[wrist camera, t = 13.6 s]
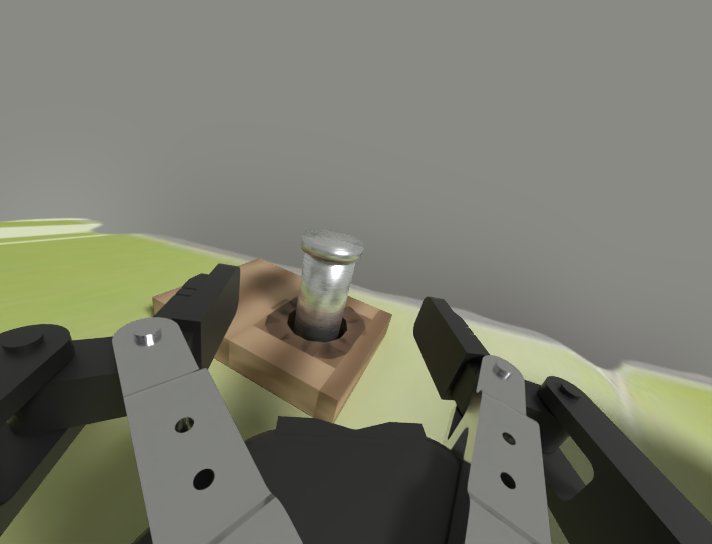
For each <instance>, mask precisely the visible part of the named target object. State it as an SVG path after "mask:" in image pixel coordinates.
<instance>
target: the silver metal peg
mask: <svg viewBox="0 0 712 544" xmlns="http://www.w3.org/2000/svg"><path fill="white" fill-rule="evenodd" d="M301 248H302V250H303V251H304V252H305V255H304V261H303V268H302V275H301V281H300V288H299V295H298V302H297V309H296V316H295V323H294V329H293V333H294V334H295V335H297V336H299V337H301V338H303V339H305V340H307V341H313V342H323V343H327V342H330V341H334V340H337V338H338V334H339V330H340V325H341V321H342V317H343V313H344V308H345V304H346V300H347V296H348V292H349V287H350V283H351V279H352V275H353V270H354V266H355V262H357V261H359V260H360V259H361V256H362V252H363V248H364V245H363V243H362V242H361V241H360V240H358V239H356V238H355V237H353V236H350V235H348V234H345V233H341V232H337V231H332V230H323V229H313V230H308V231H305V232H304V233H303V235H302V243H301Z"/></svg>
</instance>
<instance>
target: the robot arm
mask: <svg viewBox="0 0 712 544" xmlns="http://www.w3.org/2000/svg"><path fill="white" fill-rule="evenodd" d="M239 289H240V267H239V266H232V265H226V264H218V265H217V266H216V267H215V268H214V269H213V271H212V272H211V273H210V274H209V275H208V274H202V273H201V274H199V275H197V276H195V277H193V278H191V279H189V280H188V281H187V282H186V283H185V284H184V285H183V286H182V288H181V289H179V290H178V291H177V292H176V293H175V295H173V296H172V298H171V299H170V300H169V301H168V302H167V303H166V304H165V305H164V306H163V307H162V308H161V309H160V310H159V311H158V312H157V313H156V314H155V315H154V316H153V317H152V318H145V319H140V320H136V321H133V322H131V323H129V324H126V325H125V326H123V327H121V328H120V329H119V330H118V331H117V332H116V333H115V334H114V336H113V337H105V338H94V339H83V340H72V339H71V336H70V332H69V331H68V330H67V329H66V328H64V327H62V326H59V325H52V324H39V325H30V326H25V327H20V328H16V329H12V330H9V331H6V332H3V333H1V334H0V536H1V535H2V534H3V532H4V531H5V530H6V528H7V527H8V526H9V524H10V523H11V522H12V521H13V519H14V518H15V517H16V515H17V514H18V513H19V511H20V510H21V509H22V507H23V506H24V505H25V503H26V502H27V501H28V499H29V498H30V497H31V496H32V494H33V493H34V492H35V490H36V489H37V488H38V486H39V485H40V484H41V482H42V481H43V480H44V478H45V477H46V476H47V474H48V473H49V472H50V471H51V469H52V468H53V467H54V465H55V464H56V463H57V461H58V460H59V459H60V457H61V456H62V455H63V453H64V452H65V451H66V449H67V448H68V447H69V446H70V444H71V443H72V442H73V440H74V439H75V438H76V436H77V435H78V434H79V432H80V431H81V430H82V428H83V427H84V426H85V425H86V424H91V423H96V422H100V421H105V420H110V419H115V418H120V417H124V416H127V418H128V423H129V428H130V433H131V437H132V442H133V447H134V452H135V457H136V462H137V467H138V472H139V477H140V482H141V487H142V492H143V497H144V502H145V507H146V511H147V516H148V521H149V527H148V528H147V529H146V530H145V531H144V532H143V533H142V534H141V535H140V536H139V537H138V538H137V539H136V540H135V541H134V542H133V543H132V544H551V536H550V526H549V516H548V507H549V509H550V510H551V512H552V514H553V516H554V517H555V519H556V521H557V523H558V525H559V526H560V528H561V530H562V532H563V533H564V535H565V537H566V539H567V540H568V542H569V544H712V524H711V523H710V522H709V521H708V520H707V519H706V518H705V517H704V516H703V515H702V514H701V513H700V512H699V511H698V510H697V509H696V508H695V507H694V506H693V505H692V504H691V503H690V502H689V501H688V500H687V499H686V498H685V497H684V495H683V494H682V493H681V492H680V491H679V490H678V489H677V488H676V487H675V486H674V485H673V484H672V483H671V482H670V481H669V480H668V479H667V478H666V477H665V476H664V475H663V474H662V473H661V472H660V471H659V470H658V469H657V468H656V467H655V466H654V465H653V463H652V462H651V461H650V460H649V459H648V458H647V457H646V456H645V455H644V454H643V453H642V452H641V451H640V450H639V449H638V448H637V447H636V446H635V445H634V444H633V443H632V442H631V441H630V440H629V439H628V438H627V437H626V436H625V435H624V434H623V432H622V431H621V430H620V429H619V428H618V427H617V426H616V425H615V424H614V423H613V422H612V421H611V420H610V419H609V418H608V417H607V416H606V415H605V414H604V413H603V412H602V411H601V410H600V409H599V408H598V407H597V406H596V405H595V404H594V403H593V402H592V400H591V399H590V398H589V397H588V396H587V395H586V394H585V393H584V392H582V391H581V390H580V389H579V388H577V387H576V386H575V385H573V384H571V383H570V382H568V381H566V380H564V379H561V378H559V377H555V376H549V377H547V379H546V380H545V381H544V383H543V384H542V385H538V384H535V383H532V382H530V381H527V380H524V377H523V375H522V374H521V373H520V371H519V370H518V369H517V368H516V367H515V366H513V365H512V364H511V363H509V362H508V361H506V360H504V359H502V358H500V357H497V356H493V355H490V354H489V353H488V351H487V350H486V349H485V347H484V346H483V345H482V343H481V342H480V341H479V340H478V338H477V337H476V336H475V335H474V333H473V332H472V330H471V329H470V328H469V326H468V325H467V324H466V323H465V321H464V320H463V319H462V318H461V317H460V316H459V315H457V314H456V313H455V312H454V311H453V310H452V309H451V308H450V306H449V305H448V303H447V302H446V301H445V300H444V299H439V298H434V297H426V298H425V299H424V301H423V304H422V306H421V309H420V311H419V313H418V316H417V318H416V321H415V323H414V327H413V336H414V339H415V341H416V343H417V345H418V348H419V350H420V352H421V354H422V356H423V359H424V361H425V363H426V365H427V368H428V370H429V372H430V374H431V377H432V379H433V381H434V383H435V385H436V388H437V390H438V392H439V394H440V397H441V399H443V400H455V402H456V405H455V406H454V408H453V410H452V414H451V417H450V421H449V424H448V428H447V431H446V435H445V439H444V442H443V445H442V444H441V443H439V442H437V441H435V440H433V439H430V438H428V437H426V434H425V431H424V428H423V426H422V424H418V423H398V422H388V423H383V424H379V425H375V426H371V427H366V428H362V429H357V430H354V429H350V428H346V427H343V426H340V425H337V424H333V423H330V422H327V421H324V420H320V419H317V418H301V417H281V416H278V421H277V427H276V429H275V430H271V431H267V432H264V433H261V434H258V435H256V436H254V437H252V438H249V439H247V440H246V441H243V439H242V437H241V435H240V433H239V431H238V429H237V427H236V425H235V423H234V421H233V419H232V417H231V415H230V413H229V411H228V409H227V407H226V405H225V403H224V401H223V399H222V397H221V395H220V393H219V391H218V389H217V387H216V385H215V383H214V381H213V379H212V377H211V375H210V373H209V371H208V368H209V366H210V364H211V362H212V360H213V358H214V356H215V354H216V352H217V350H218V348H219V346H220V344H221V342H222V340H223V338H224V336H225V334H226V332H227V331H228V329H229V327H230V325H231V323H232V321H233V319H234V317H235V315H236V312H237V308H238V303H239ZM569 436H571V437H572V439H573V440H574V441H575V443H576V444H577V445H578V446H579V448H580V449H581V450H582V452H583V453H584V454H585V455H586V457H587V458H588V459H589V461H590V462H591V464H592V467H593V470H594V478H593V480H592V481H591V482H590V483H589V484H588V485H587V486H586V485H585V484H584V483H583V481H582V480H581V478H580V477H579V476H578V474H577V473H576V471H575V470H574V468H573V467H572V466H571V464H570V463H569V461H568V460H567V459H566V457H565V456H564V454H563V453H562V452H561V450H560V449H559V446H560V445H561V444H562V443H563V442H564V441H565V440H566V439H567V438H568V437H569ZM547 505H548V507H547Z"/></svg>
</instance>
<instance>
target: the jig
mask: <svg viewBox="0 0 712 544" xmlns="http://www.w3.org/2000/svg"><path fill="white" fill-rule="evenodd" d="M239 267H240V289H239V303H238V308H237V312H236V315H235V317H234V319H233V321H232V323H231V325H230V327H229V329H228V331H227V332H226V334H225V336H224V338H223V340H222V342H221V344H220V346H219V348H218V350H217V352H216V354H215V356H214V358H215V359H217V360H218V361H220V362H222V363H223V364H225V365H227V366H228V367H230V368H232V369H233V370H235V371H237V372H238V373H240V374H242V375H243V376H245V377H247V378H248V379H250V380H252V381H253V382H255V383H257V384H258V385H260V386H262V387H264V388H265V389H267V390H269V391H270V392H272V393H274V394H275V395H277V396H279V397H280V398H282V399H284V400H285V401H287V402H289V403H290V404H292V405H294V406H295V407H297V408H299V409H300V410H302V411H304V412H305V413H307V414H309V415H310V416H312V417H314V418H317V419H320V420H324V421H327V422H330V423H334V422H335V420H336V418H337V417H338V415H339V413H340V411H341V410H342V408H343V406H344V405H345V403H346V401H347V399H348V398H349V396H350V394H351V393H352V391H353V389H354V387H355V386H356V384H357V382H358V381H359V379H360V377H361V375H362V374H363V372H364V370H365V369H366V367H367V365H368V364H369V362H370V360H371V358H372V357H373V355H374V353H375V352H376V350H377V348H378V346H379V345H380V343H381V341H382V340H383V338H384V336H385V334H386V331H387V328H388V325H389V322H390V319H391V316H392V314H389V313H387V312H385V311H382V310H380V309H377V308H375V307H373V306H370V305H368V304H366V303H363V302H361V301H359V300H356V299H354V298H351V297H349V296H347V300H346V304H345V308H344V313H343V317H342V321H341V325H340V330H339V334H338V339H337V340H334V341H330V342H327V343H323V342H313V341H307V340H305V339H303V338H301V337H299V336H297V335H295V334H294V333H293V329H294V323H295V316H296V309H297V302H298V295H299V288H300V281H301V276H299V275H297V274H295V273H292V272H290V271H288V270H285V269H283V268H280V267H278V266H276V265H273V264H271V263H269V262H266V261H264V260H262V259H256V260H253V261H251V262H248V263H245V264H242V265H240V266H239ZM181 288H182V287H179V288H176V289H173V290H171V291H168V292H165V293H162V294H160V295H157V296H154V297H152V299H153V307H154V315H155V314H156V313H157V312H158V311H159V310H160V309H161V308H162V307H163V306H164V305H165V304H166V303H167V302H168V301H169V300H170V299H171V298H172V296H173V295H175V293H176V292H177V291H178V290H179V289H181Z"/></svg>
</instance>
